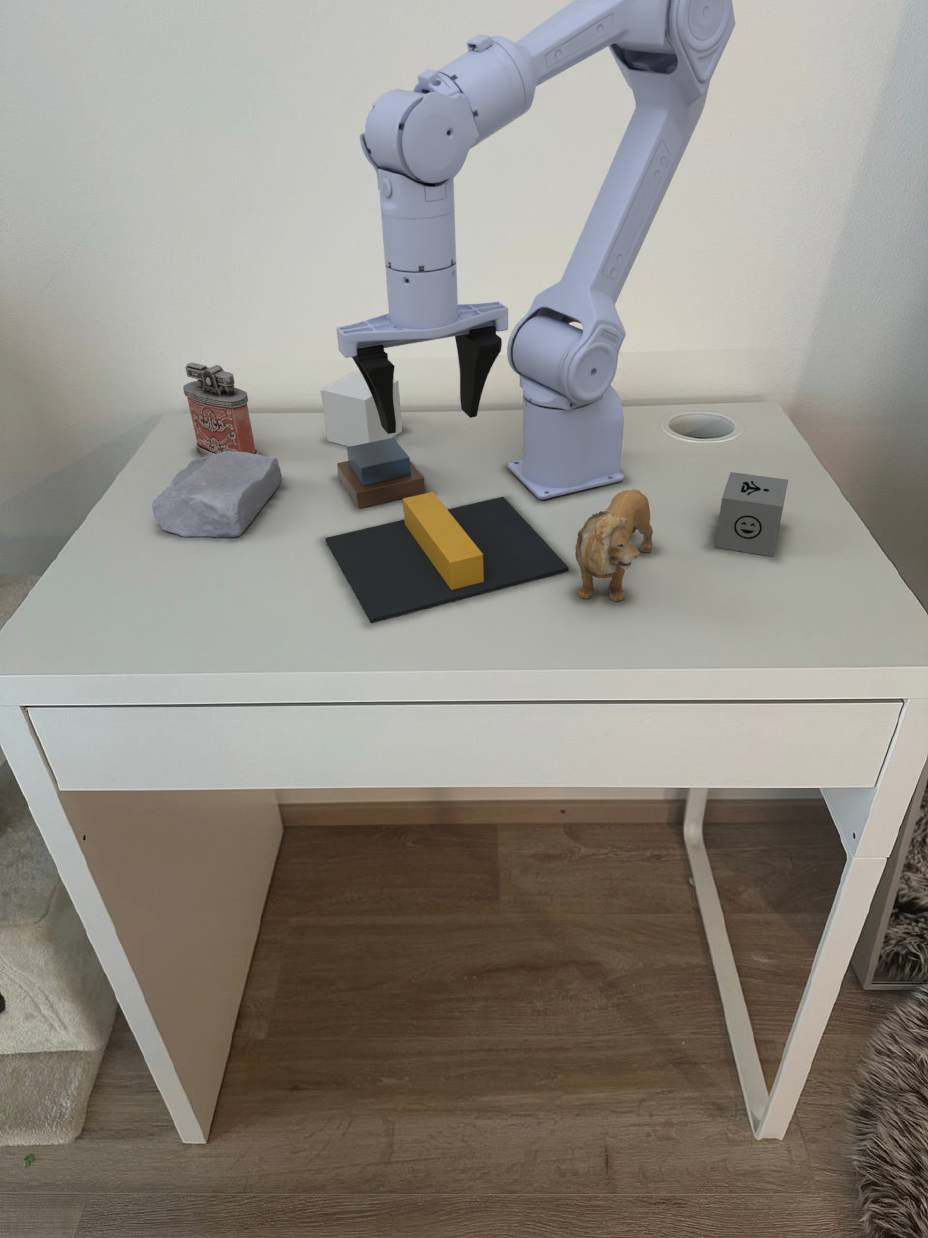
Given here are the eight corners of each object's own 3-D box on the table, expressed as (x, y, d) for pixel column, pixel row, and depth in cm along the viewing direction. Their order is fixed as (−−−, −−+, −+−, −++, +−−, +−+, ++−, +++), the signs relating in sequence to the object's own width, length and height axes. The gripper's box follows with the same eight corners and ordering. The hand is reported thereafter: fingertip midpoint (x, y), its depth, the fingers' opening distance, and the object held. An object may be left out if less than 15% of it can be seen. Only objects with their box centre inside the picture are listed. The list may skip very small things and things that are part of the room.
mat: (503, 499, 92) (503, 496, 91) (568, 571, 81) (569, 567, 81) (325, 541, 87) (325, 537, 86) (371, 623, 76) (370, 619, 76)
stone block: (155, 549, 90) (246, 539, 87) (134, 505, 87) (228, 492, 84) (208, 494, 99) (292, 483, 96) (191, 452, 97) (277, 439, 94)
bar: (484, 581, 80) (483, 554, 78) (451, 590, 79) (449, 562, 77) (434, 517, 89) (432, 491, 87) (404, 524, 88) (402, 498, 86)
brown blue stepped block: (402, 464, 99) (399, 431, 96) (425, 493, 93) (423, 459, 91) (338, 478, 97) (334, 444, 94) (358, 508, 91) (354, 474, 89)
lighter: (266, 457, 101) (250, 368, 95) (244, 470, 99) (226, 379, 93) (212, 441, 105) (194, 354, 99) (190, 453, 102) (170, 365, 97)
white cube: (360, 420, 108) (354, 370, 104) (402, 431, 105) (398, 380, 102) (327, 440, 104) (320, 389, 100) (370, 452, 101) (364, 399, 98)
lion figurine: (630, 631, 74) (639, 533, 69) (564, 621, 75) (568, 524, 70) (657, 537, 85) (666, 446, 80) (599, 529, 86) (604, 440, 81)
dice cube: (723, 520, 87) (730, 471, 84) (779, 528, 85) (788, 479, 83) (714, 547, 83) (722, 497, 80) (773, 556, 82) (782, 506, 79)
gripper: (483, 239, 80) (486, 390, 88) (319, 262, 76) (337, 419, 84) (519, 259, 75) (518, 418, 83) (344, 285, 70) (361, 450, 78)
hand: (429, 421), depth 83 cm, fingers open, 7 cm apart
